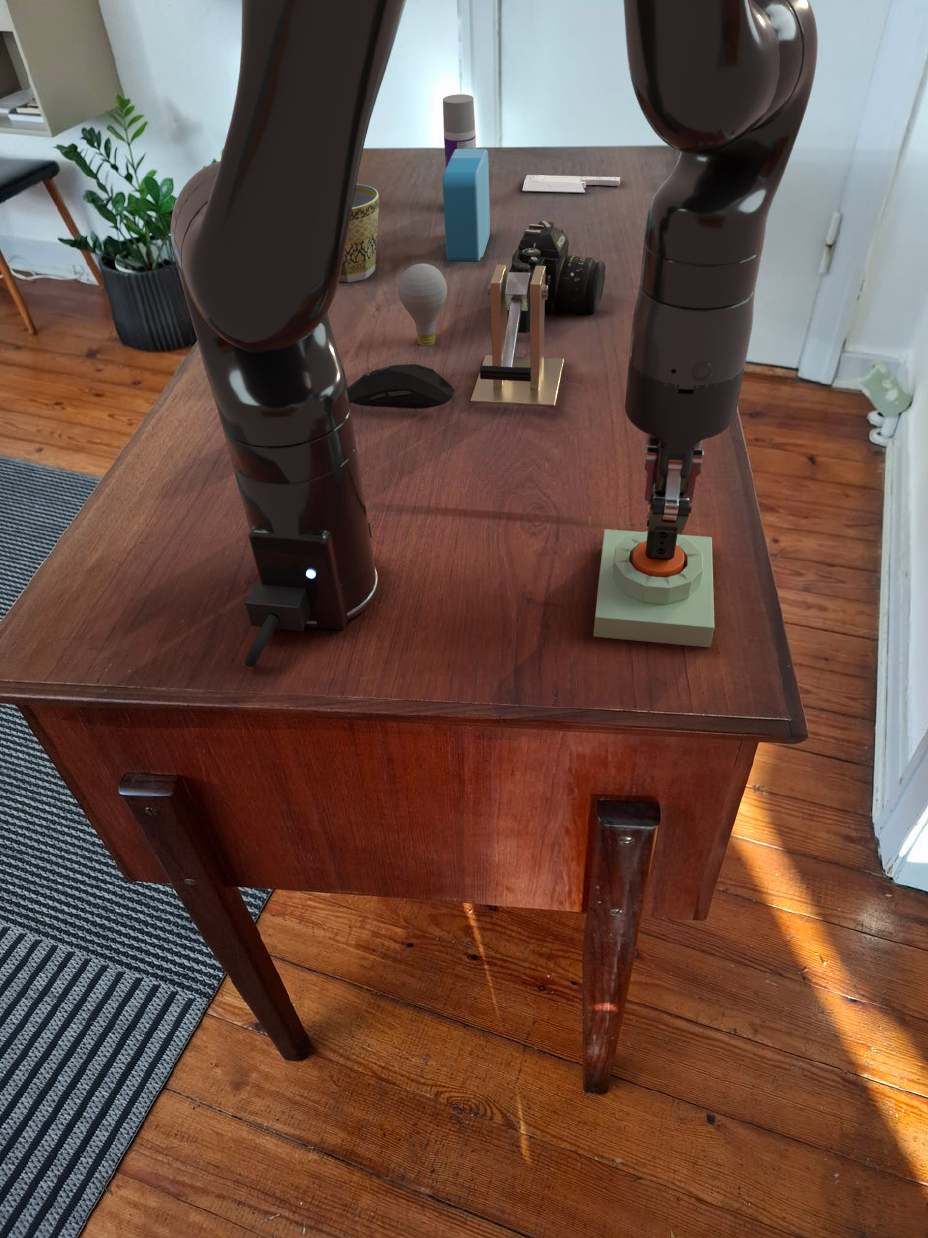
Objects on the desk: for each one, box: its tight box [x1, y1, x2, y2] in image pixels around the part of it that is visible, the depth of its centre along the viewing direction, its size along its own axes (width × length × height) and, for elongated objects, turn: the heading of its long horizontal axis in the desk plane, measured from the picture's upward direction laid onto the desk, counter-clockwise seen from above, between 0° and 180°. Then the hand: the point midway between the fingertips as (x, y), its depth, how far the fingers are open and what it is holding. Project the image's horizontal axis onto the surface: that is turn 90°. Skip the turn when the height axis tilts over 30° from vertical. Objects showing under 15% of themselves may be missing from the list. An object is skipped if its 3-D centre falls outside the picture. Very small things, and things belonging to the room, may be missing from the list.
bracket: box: [470, 264, 565, 407], centre depth 94 cm, size 10×9×13 cm
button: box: [632, 541, 684, 578], centre depth 71 cm, size 4×4×2 cm
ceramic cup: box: [339, 183, 380, 283], centre depth 120 cm, size 13×10×10 cm
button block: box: [593, 528, 715, 648], centre depth 72 cm, size 11×9×4 cm
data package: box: [442, 148, 491, 262], centre depth 122 cm, size 12×4×12 cm, turn 172°
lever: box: [479, 271, 532, 382], centre depth 89 cm, size 12×5×2 cm, turn 170°
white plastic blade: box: [521, 174, 621, 194], centre depth 142 cm, size 5×15×1 cm, turn 78°
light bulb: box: [398, 263, 448, 346], centre depth 102 cm, size 6×6×10 cm
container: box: [442, 93, 477, 168], centre depth 134 cm, size 5×5×15 cm
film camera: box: [507, 220, 606, 334], centre depth 108 cm, size 18×12×10 cm
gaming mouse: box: [348, 363, 455, 409], centre depth 96 cm, size 6×15×4 cm, turn 84°
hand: (659, 553), depth 71 cm, fingers closed
